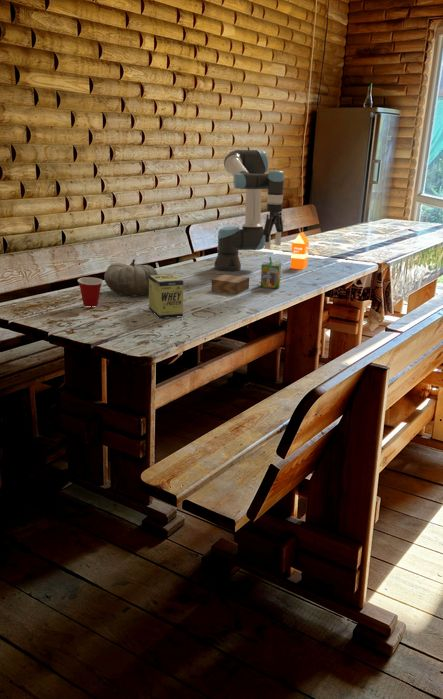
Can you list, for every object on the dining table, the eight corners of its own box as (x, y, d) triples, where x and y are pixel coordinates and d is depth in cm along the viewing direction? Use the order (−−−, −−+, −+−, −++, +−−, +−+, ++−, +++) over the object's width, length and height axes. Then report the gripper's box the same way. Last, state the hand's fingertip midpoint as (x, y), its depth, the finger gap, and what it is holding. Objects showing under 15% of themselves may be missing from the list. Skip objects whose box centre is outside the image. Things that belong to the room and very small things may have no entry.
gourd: (127, 297, 301) (125, 258, 299) (93, 297, 318) (91, 259, 316) (168, 295, 319) (167, 258, 317) (134, 294, 336) (133, 259, 334)
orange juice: (290, 268, 390) (292, 233, 384) (294, 265, 398) (296, 231, 392) (303, 269, 387) (305, 234, 381) (307, 266, 395) (309, 232, 389)
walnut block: (211, 291, 331) (211, 279, 329) (223, 285, 343) (223, 274, 341) (237, 295, 325) (238, 282, 324) (248, 289, 338) (249, 277, 336)
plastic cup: (92, 311, 289) (91, 283, 285) (73, 307, 294) (72, 280, 290) (108, 306, 297) (108, 279, 294) (90, 302, 303) (89, 275, 299)
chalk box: (278, 289, 339) (280, 259, 334) (260, 287, 340) (261, 258, 336) (280, 285, 347) (282, 256, 343) (262, 283, 349) (264, 255, 344)
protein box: (159, 319, 280) (159, 282, 275) (148, 309, 294) (148, 274, 289) (183, 317, 284) (184, 280, 279) (171, 307, 298) (171, 273, 293)
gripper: (272, 205, 318) (270, 250, 325) (291, 202, 340) (288, 244, 346) (257, 204, 322) (255, 249, 328) (277, 201, 343) (275, 242, 349)
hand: (272, 246), depth 337 cm, fingers open, 13 cm apart
